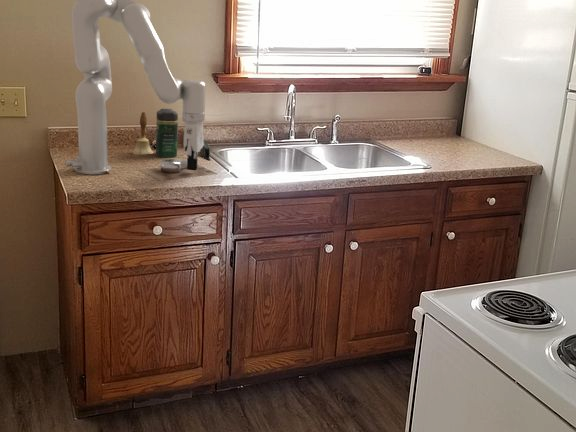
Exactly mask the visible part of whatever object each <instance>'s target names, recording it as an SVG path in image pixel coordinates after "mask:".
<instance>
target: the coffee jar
mask: <svg viewBox="0 0 576 432" xmlns="http://www.w3.org/2000/svg"><path fill="white" fill-rule="evenodd" d="M178 115H179V114H178V112H176V111H175V110H173V109H172V108H161V109H159V110H157V112H156V125H155V126H156V131H155V132H156V134H155V135H156V136H155V137H156V139H155V141H156V143H155V155H156V157H158V158H161V159H163V158H164V159H168V158H169V159H174V158H177V157H178V133H179V130H178V128H179V120H178V119H179V118H178V117H179V116H178Z"/></svg>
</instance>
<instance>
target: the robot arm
mask: <svg viewBox="0 0 576 432" xmlns="http://www.w3.org/2000/svg"><path fill="white" fill-rule="evenodd" d="M101 18H108V19H111V20H113V21H115V22H117V23H120V24H122V26H123V28H124V30H125V32H126V34H127V36H128V37H129V39H130V41H131V43H132V45H133V47H134V49H135V51H136V52H137V53H136V54H138V57H139V59H140V62H141V64H142V65H141V66H143V67H142V68H143V70H144V72H145V74H146V76H147V78H148V81H149V83H150V85H151V86H152V88H153V90H154V92H155V94H156V96H157V97H158V98H159V100H160V101H161V102H163V103H165V104H168V105H169V104H174V103H176V102H177V101H178V100H182V112H181V113H182V114H181V115H182V116H181V118H182V119H181V120H182V123H184V128H183V151H185V152H186V156H187V157H186V159H187V169H188V170H196V169H197V164H198V155H199V152H200V149H202V148H203V146H204V142H205V141H204V138H205V137H204V123H205V121H206V120H205V119H206V117H205V114H206V83H205V82H204V81H202V80H197V79H188V80H187V79H181V78H178V77H173V75H172V73H171V71H170V68H169V66H168V63H167V60H166V57H165V56H166V55H165V50H164V49H165V48H164V45H163V43H162V41H161V40H160V38H159V35H158V33H157V32H156V29H155V28H154V26H153V24H152V22H151V13H150V10H149V9H148V8H147V6H145V5H144V4H142V3H139V2H137V1H134V0H76V2H75V3H74V5H73V7H72V10H71V27H72V30H71V31H72V40H73V41H72V42H73V50H74V51H73V52H74V62H75V66H76V68H77V69H78V71H80V73H82V74H83V80H82V81H80V83H78V85H77V87H76V90H75V104H76V110H77V133H78V135H77V136H78V141H77V142H78V156H76V157H75V159H74V160H65V161H64V165H65V167H71V168H74V171H75V173H78V174H84V175H105V174H108V173H109V172H110V171H109V170H111V169H112V168H113V167H112V165H111V164H108V121H107V120H108V119H107V117H108V116H107V114H108V113H107V109H106V108H107V107H106V101H108V100H109V98H110V97H111V96H112V93H113V81H112V80H113V79H112V68H111V60H110V55H109V52H108V51H107V49H106V47H104V46H103V45H102V44H101V34H100V33H101V32H100V28H99V20H100V19H101Z"/></svg>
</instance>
